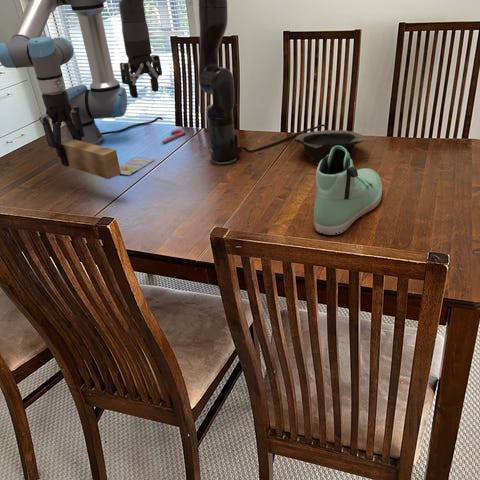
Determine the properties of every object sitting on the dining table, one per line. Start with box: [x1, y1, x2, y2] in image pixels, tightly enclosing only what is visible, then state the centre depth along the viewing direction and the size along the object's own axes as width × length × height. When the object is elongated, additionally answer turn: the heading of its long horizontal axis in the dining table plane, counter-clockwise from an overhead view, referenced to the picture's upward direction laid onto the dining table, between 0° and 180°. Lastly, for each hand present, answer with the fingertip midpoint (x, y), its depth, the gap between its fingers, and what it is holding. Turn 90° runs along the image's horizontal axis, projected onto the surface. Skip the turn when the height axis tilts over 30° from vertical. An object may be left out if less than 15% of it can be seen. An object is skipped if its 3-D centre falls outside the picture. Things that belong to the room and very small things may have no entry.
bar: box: [57, 136, 122, 180], centre depth 153 cm, size 25×5×8 cm, turn 53°
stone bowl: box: [294, 129, 367, 165], centre depth 171 cm, size 25×25×9 cm
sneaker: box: [313, 146, 383, 236], centre depth 133 cm, size 14×35×20 cm, turn 152°
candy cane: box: [161, 128, 186, 144], centre depth 202 cm, size 6×15×2 cm, turn 145°
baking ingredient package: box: [119, 157, 154, 176], centre depth 178 cm, size 9×1×15 cm
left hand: (72, 162), depth 160 cm, fingers closed on bar, 5 cm apart
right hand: (145, 94), depth 148 cm, fingers open, 8 cm apart
